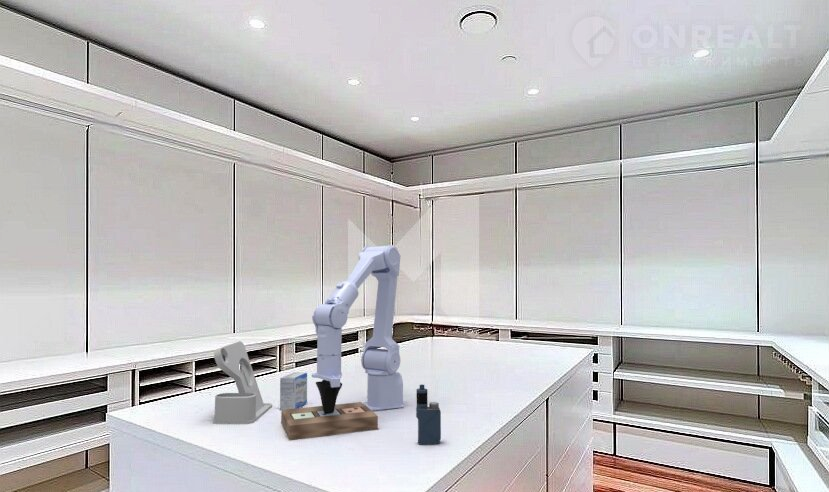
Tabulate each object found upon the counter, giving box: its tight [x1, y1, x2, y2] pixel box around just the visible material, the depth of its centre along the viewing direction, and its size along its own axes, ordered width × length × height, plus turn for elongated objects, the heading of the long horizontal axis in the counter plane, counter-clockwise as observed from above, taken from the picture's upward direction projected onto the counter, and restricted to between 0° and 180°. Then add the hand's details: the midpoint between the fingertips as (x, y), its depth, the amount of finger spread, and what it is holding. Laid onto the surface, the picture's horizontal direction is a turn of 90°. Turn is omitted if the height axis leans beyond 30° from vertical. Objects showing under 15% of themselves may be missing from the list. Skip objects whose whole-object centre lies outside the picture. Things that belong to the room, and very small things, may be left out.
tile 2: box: [341, 407, 365, 414], centre depth 114 cm, size 5×5×2 cm
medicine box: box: [279, 371, 308, 410], centre depth 129 cm, size 8×4×9 cm, turn 168°
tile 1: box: [291, 412, 314, 420], centre depth 109 cm, size 5×5×2 cm
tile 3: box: [317, 410, 340, 417], centre depth 112 cm, size 5×5×2 cm
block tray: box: [280, 401, 379, 441], centre depth 112 cm, size 20×14×3 cm
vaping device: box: [415, 384, 442, 446], centre depth 100 cm, size 3×5×12 cm, turn 95°
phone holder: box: [212, 340, 273, 425], centre depth 122 cm, size 17×10×18 cm, turn 0°
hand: (328, 412), depth 112 cm, fingers closed, pressing on tile 3
